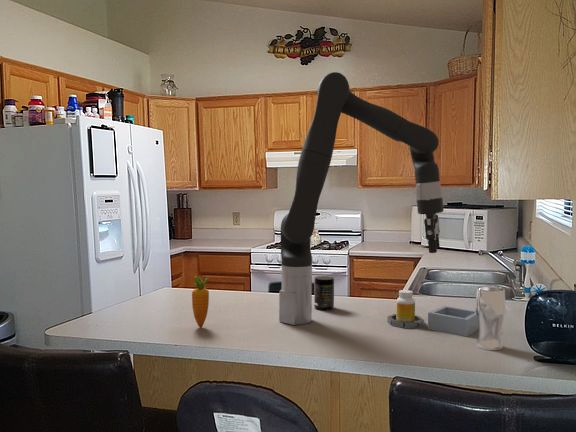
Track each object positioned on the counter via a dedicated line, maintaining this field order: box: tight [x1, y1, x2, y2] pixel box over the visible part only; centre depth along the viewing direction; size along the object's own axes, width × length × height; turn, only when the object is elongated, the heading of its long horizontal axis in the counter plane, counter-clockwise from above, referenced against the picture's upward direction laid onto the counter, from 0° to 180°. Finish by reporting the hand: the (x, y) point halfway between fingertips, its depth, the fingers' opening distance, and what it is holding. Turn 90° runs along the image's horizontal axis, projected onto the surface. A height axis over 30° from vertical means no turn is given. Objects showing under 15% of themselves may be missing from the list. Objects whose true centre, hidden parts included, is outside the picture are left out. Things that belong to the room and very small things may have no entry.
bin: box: [427, 305, 478, 337], centre depth 136 cm, size 11×11×5 cm
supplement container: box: [313, 275, 335, 311], centre depth 158 cm, size 7×7×10 cm
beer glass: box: [475, 285, 506, 351], centre depth 120 cm, size 7×7×15 cm
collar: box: [386, 313, 425, 329], centre depth 141 cm, size 10×10×2 cm
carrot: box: [191, 275, 210, 328], centre depth 135 cm, size 5×5×15 cm
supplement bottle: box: [395, 289, 416, 322], centre depth 141 cm, size 5×5×10 cm
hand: (434, 250), depth 142 cm, fingers open, 8 cm apart
